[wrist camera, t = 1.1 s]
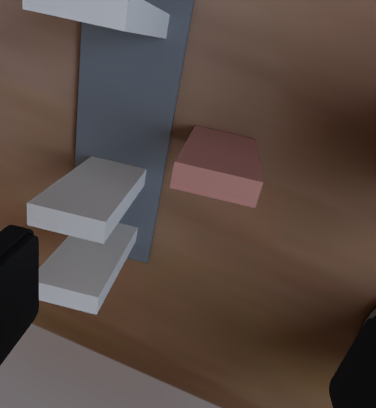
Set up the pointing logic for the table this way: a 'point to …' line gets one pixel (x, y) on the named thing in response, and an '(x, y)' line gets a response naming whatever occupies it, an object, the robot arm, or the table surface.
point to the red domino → (219, 167)
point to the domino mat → (132, 106)
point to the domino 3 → (85, 270)
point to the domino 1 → (108, 14)
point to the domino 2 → (87, 199)
